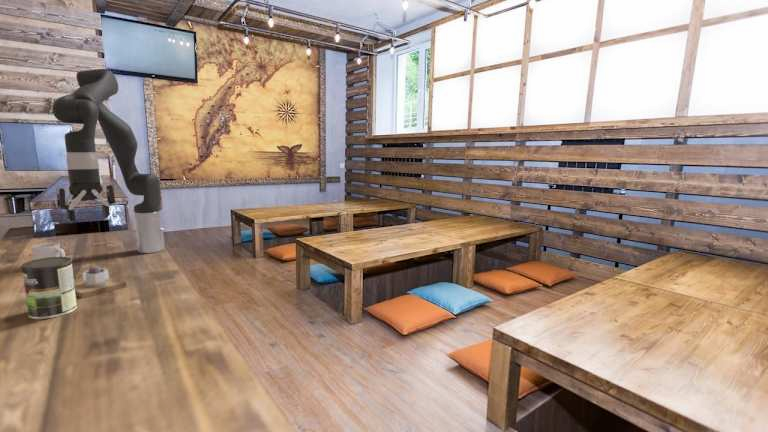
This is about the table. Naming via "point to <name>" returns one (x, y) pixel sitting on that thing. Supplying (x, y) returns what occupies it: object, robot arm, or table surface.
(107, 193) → the robot arm
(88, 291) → the post block
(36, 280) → the coffee can
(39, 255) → the cup
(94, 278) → the ring
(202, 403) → the table surface
